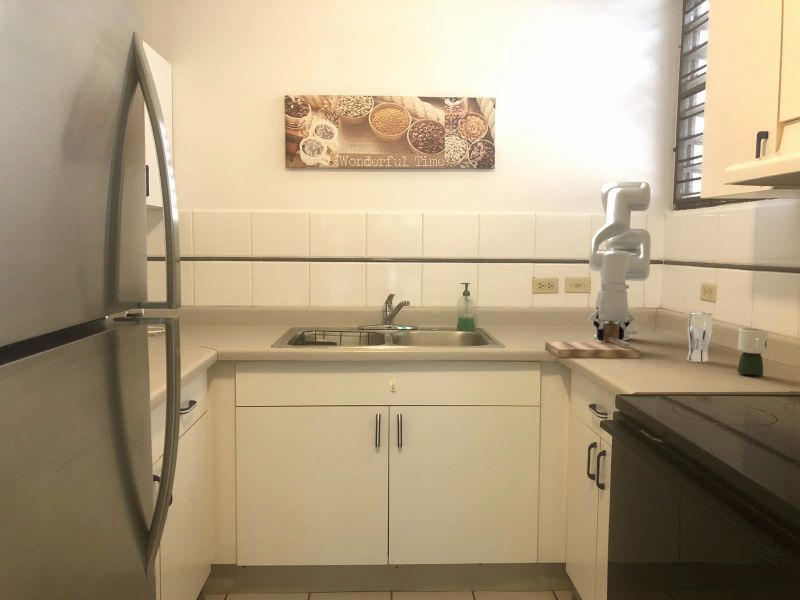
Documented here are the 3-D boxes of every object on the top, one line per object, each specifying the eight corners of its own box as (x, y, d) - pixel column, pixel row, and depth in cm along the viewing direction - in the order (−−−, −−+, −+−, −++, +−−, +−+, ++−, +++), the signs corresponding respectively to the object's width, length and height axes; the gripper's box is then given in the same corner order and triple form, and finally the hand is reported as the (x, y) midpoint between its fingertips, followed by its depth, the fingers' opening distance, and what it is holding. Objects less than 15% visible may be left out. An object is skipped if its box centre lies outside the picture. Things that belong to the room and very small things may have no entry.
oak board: (620, 349, 211) (620, 342, 211) (638, 357, 198) (639, 349, 197) (545, 349, 210) (545, 341, 209) (558, 357, 196) (559, 348, 195)
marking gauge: (614, 347, 215) (615, 320, 214) (633, 355, 200) (635, 327, 199) (601, 347, 214) (602, 320, 213) (620, 355, 199) (621, 326, 198)
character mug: (770, 380, 169) (774, 332, 168) (741, 378, 171) (745, 331, 170) (758, 372, 180) (761, 327, 178) (731, 370, 181) (734, 326, 180)
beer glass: (708, 359, 197) (711, 312, 196) (711, 363, 191) (715, 315, 189) (684, 357, 199) (687, 311, 198) (686, 361, 193) (689, 313, 191)
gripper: (632, 287, 215) (629, 339, 217) (584, 286, 214) (581, 338, 216) (642, 289, 208) (639, 342, 210) (592, 288, 207) (589, 342, 208)
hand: (609, 340), depth 213 cm, fingers open, 6 cm apart
